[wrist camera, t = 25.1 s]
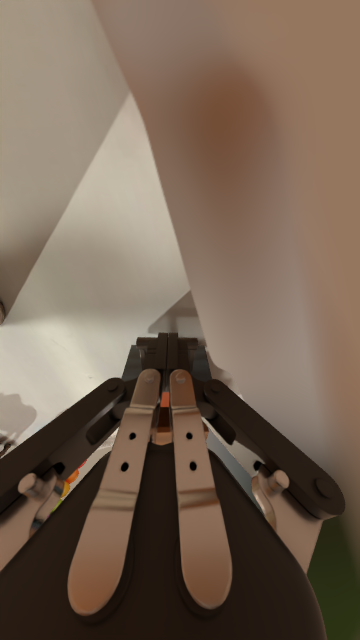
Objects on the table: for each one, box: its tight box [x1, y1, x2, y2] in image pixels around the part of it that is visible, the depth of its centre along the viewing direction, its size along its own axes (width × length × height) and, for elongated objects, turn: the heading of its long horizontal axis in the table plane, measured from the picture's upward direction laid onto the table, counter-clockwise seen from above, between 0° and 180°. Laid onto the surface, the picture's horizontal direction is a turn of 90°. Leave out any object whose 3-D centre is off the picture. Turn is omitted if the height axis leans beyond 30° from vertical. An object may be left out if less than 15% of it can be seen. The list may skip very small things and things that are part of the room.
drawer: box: [121, 337, 212, 427], centre depth 25 cm, size 19×11×7 cm, turn 178°
